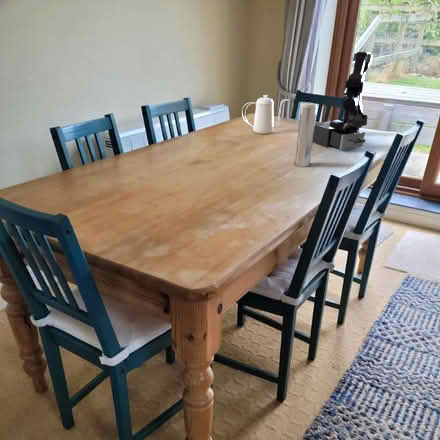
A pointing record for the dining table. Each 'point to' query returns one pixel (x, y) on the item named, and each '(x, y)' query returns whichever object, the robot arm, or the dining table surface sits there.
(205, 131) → the dining table surface
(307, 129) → the silver metal cylinder
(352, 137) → the drawer
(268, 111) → the coffeepot
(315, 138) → the grey sliding drawer unit
